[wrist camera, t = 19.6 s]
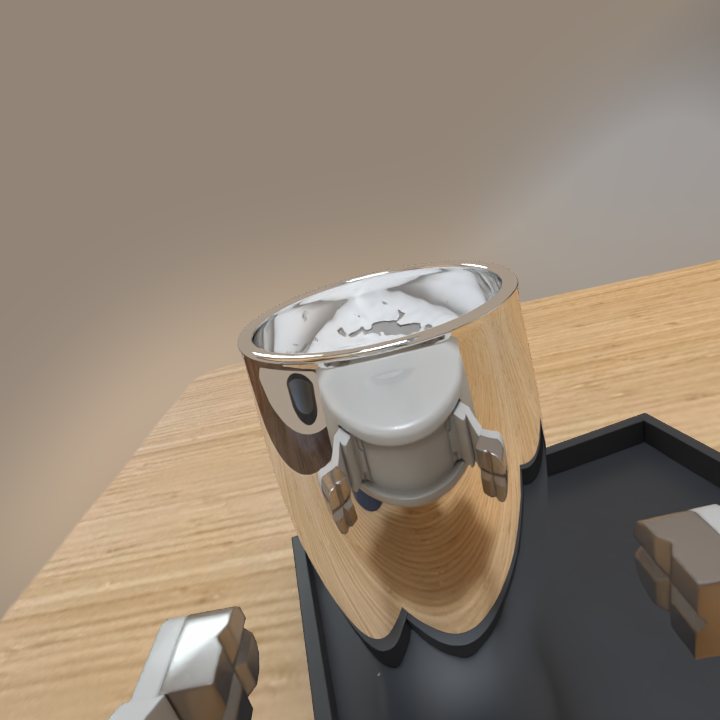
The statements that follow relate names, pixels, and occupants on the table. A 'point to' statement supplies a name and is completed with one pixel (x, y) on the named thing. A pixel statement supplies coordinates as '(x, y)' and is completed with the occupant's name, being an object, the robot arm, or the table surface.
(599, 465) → the tray
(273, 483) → the table surface
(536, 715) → the silver goblet
